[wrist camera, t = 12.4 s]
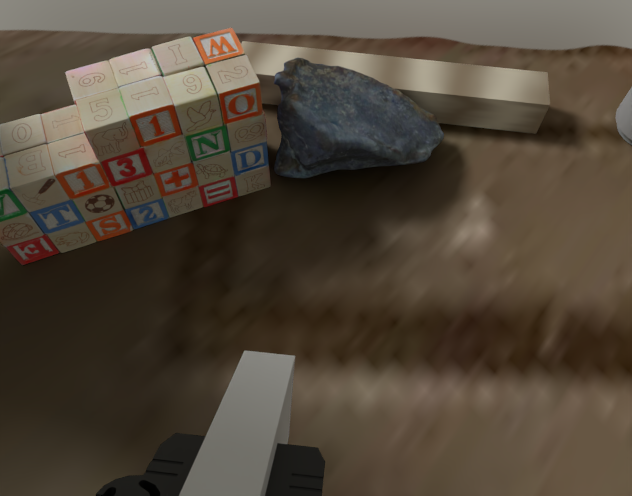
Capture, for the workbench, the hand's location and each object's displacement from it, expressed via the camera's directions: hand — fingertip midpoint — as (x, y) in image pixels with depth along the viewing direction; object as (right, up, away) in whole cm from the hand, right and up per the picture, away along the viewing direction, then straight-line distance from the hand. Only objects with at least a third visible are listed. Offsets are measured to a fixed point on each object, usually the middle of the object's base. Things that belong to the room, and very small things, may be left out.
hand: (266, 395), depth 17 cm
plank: (+8, +18, +38) cm, 43 cm away
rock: (+4, +13, +35) cm, 38 cm away
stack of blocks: (-13, +9, +33) cm, 36 cm away
